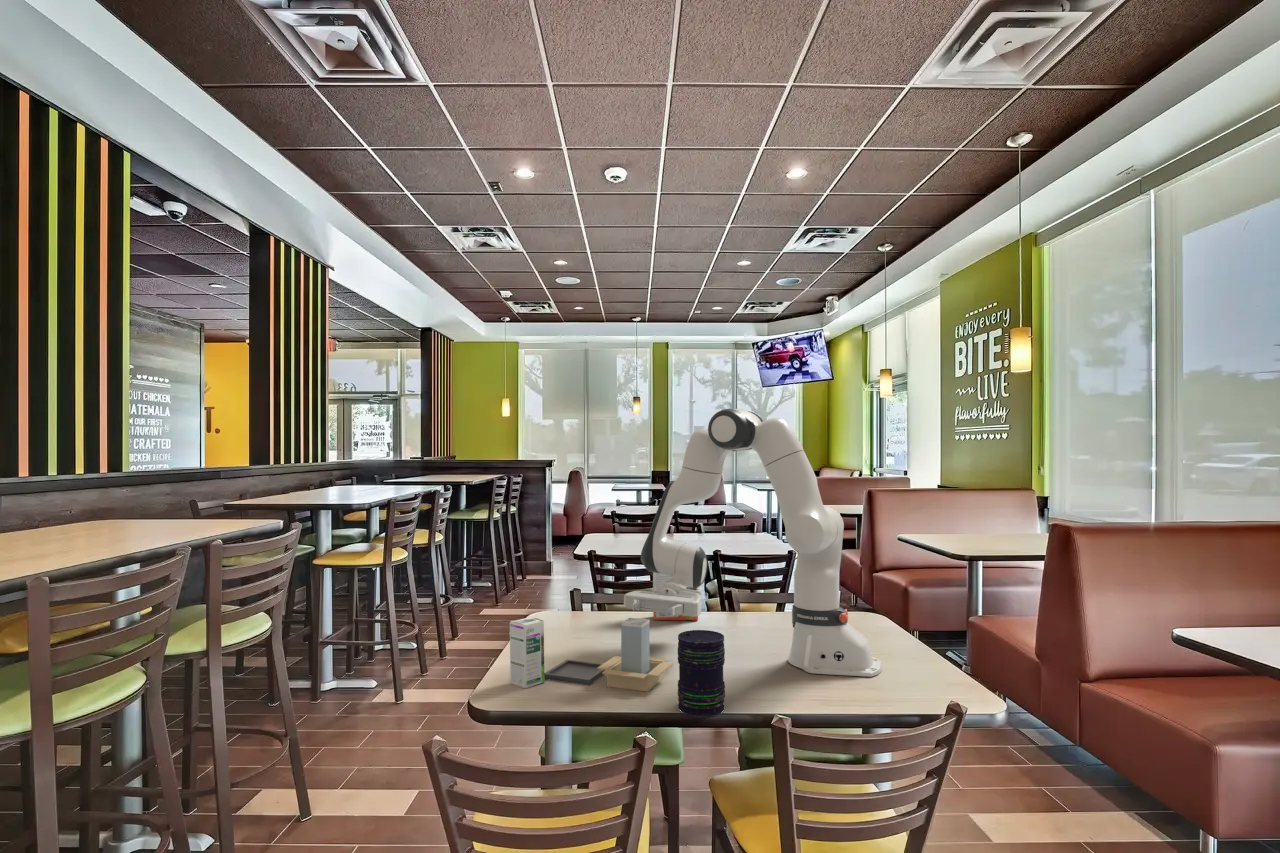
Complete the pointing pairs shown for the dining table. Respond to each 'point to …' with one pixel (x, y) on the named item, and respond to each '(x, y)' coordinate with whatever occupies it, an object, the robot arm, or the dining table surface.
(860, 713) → the dining table surface
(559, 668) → the tray
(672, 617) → the cracker box
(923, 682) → the dining table surface
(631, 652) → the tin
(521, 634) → the syrup box
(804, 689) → the dining table surface
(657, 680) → the carton
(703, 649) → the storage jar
